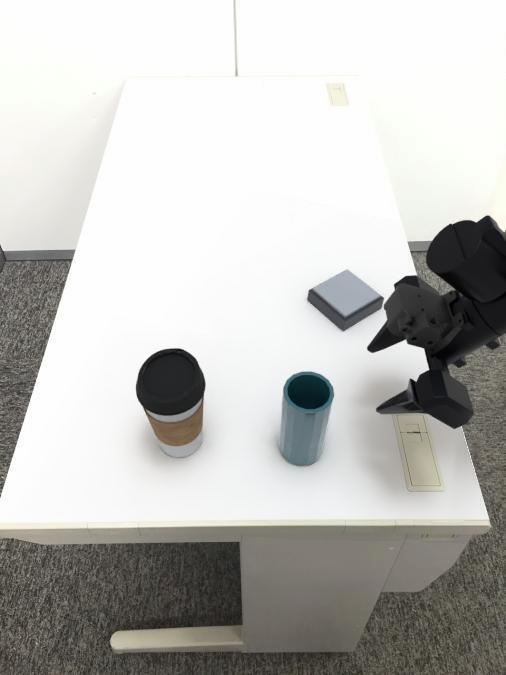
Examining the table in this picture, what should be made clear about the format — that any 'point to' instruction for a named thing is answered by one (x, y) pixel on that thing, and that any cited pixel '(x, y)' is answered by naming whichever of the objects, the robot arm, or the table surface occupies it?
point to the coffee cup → (173, 399)
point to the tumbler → (305, 417)
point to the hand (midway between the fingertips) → (373, 379)
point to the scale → (345, 299)
